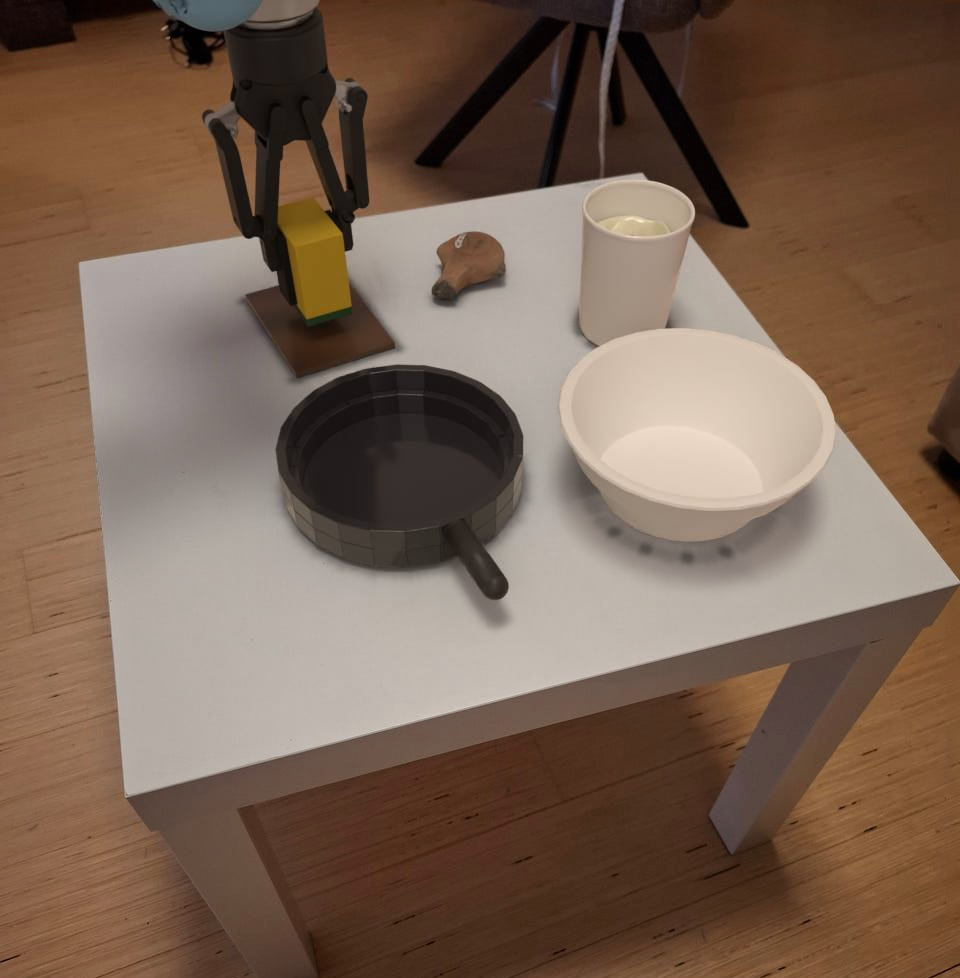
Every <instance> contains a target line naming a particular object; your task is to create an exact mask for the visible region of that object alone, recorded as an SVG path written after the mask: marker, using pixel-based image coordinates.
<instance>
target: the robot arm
mask: <svg viewBox="0 0 960 978" xmlns="http://www.w3.org/2000/svg"><path fill="white" fill-rule="evenodd" d="M152 1H153V3H154V4H155V5H156V7H158V8H160V9H161V10H162V11H163V12H164V14H166V15H167V16H169V17H171V18H173V19H175V20H178V21H181V22H182V23H184V24H186V25H188V26H190V27H192V28H194V29H197V30H201V31H206V32H223V36H224V41H225V46H226V51H227V52H226V53H227V57H228V63H229V66H230V72H231V77H232V86H231V90H230V94H229V96H230V97H229V102H228V103H226V104H224V105H223V106H222V107H220V108H219V109H217V110H216V111H214V110H213V109H209V108H208V109H205V110H204V111H203V112H202V113H201V120H202V122H203V124H204V126H205V127H206V129H207V130H208V132H209V134H210V135H211V137H212V138H213V141H214V143H215V147H216V152H217V156H218V160H219V164H220V165H219V166H220V169H221V173H222V178H223V182H224V186H225V191H226V195H227V199H228V203H229V208H230V211H231V216H232V220H233V223H234V224H235V226H236V227H237V229H238V231H239V232H240V234H241V235H242V236H243V237H244V239H247V240H251V239H253V238H258V240H259V241H258V242H259V246H260V250H261V255H262V260H263V262H264V264H265V265H266V267H268V269H269V270H270V272H271V273H276V277H277V282H278V285H279V288H280V292H281V293H282V295H283V296H284V298H285V299H286V301H287V302H288V303H289V305H290V306H293V305H296V304H297V298H296V292H295V286H294V281H293V275H292V269H291V264H290V258H289V252H288V246H287V241H286V238H285V236H284V235H283V234H282V232H281V231H280V229H279V228H278V227H277V224H278V206H279V203H280V202H279V200H280V178H281V161H283V160H284V159H283V158H284V146H288V145H289V144H291V143H292V142H295V141H299V142H300V141H301V142H305V144H306V146H307V149H308V151H309V154H310V157H311V159H312V163H313V165H314V167H315V170H316V173H317V175H318V179H319V181H320V184H321V186H322V189H323V192H324V194H325V197H326V199H327V202H328V205H329V207H330V209H326V210H324V211H325V212H326V214H327V215H328V216H329V217H330V219H331V220H332V221H333V222H334V224H335V225H336V226H337V227H338V229H339V230H340V231H341V232H342V234H343V240H344V248H345V253H346V252H350V251H352V250H353V247H354V235H353V230H352V229H353V228H352V224H353V223H354V222H355V220H356V214H354V213H355V212H356V211H357V210H358V209H362V210H364V209H366V208H367V207H368V206H369V205H370V191H369V190H370V189H369V179H368V177H369V176H368V168H367V167H368V165H367V155H366V144H365V132H364V129H365V128H364V116H365V113H366V112H365V111H366V109H367V108H366V107H367V104H368V97H369V95H368V93H367V91H366V90H365V89H364V88H363V87H362V86H361V85H360V84H359V83H358V81H356V80H355V79H354V78H352V77H347V78H346V79H345V80H339V79H335V77H334V76H333V74H332V73H331V71H330V68H329V65H328V64H329V61H328V50H327V44H326V43H327V42H326V33H325V24H324V17H323V13H322V11H321V10H320V9H319V8H318V7H317V6H319V3H320V0H152ZM333 99H334V104H335V106H336V108H338V123H339V130H340V141H341V152H342V160H343V173H344V180H345V189H344V187H343V183H342V180H341V178H340V175H339V173H338V169H337V165H336V164H335V161H334V158H333V155H332V153H331V152H332V151H331V150H330V147H329V146H330V143H329V140H328V137H327V135H326V131H325V128H324V126H323V122H324V120H325V117H326V115H327V114H328V111H329V109H330V106H331V104H332V102H333ZM240 118H241V119H242V120H243V121H244V122H246V124H247V125H248V126H250V127H251V129H252V130H253V131H254V144H255V145H254V146H255V149H256V151H255V182H254V183H255V184H254V185H255V186H254V187H255V188H254V215H253V210H252V205H251V201H250V196H249V191H248V187H247V182H246V178H245V172H244V168H243V164H242V158H241V154H240V151H239V148H238V145H237V144H236V141H235V140H236V139H237V138H238V137H239V128H238V122H239V120H240Z"/></svg>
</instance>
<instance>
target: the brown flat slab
mask: <svg viewBox="0 0 960 978" xmlns="http://www.w3.org/2000/svg"><path fill="white" fill-rule="evenodd" d="M349 289H350V297H351V305H352V306H351V307H352V314H350V315H347V316H343V317H340V318H336V319H333V320H330V321H326V322H323V323H320V324H316V325H313V326H310V327H308V326H307V325H306V323H305V322H304V320H303V319H302V317H301V316H300V314H299V313H298V311H297V310H296V309H295V307H294V306H290V305H289V303H288V302H287V301H286V299H285V298H284V296H283V295H282V293H281V292H280V288H279V284H278V285H274V286H271V287H267V288H263V289H260V290H255V291H252V292H249V293H246V294H245V300H246V302H247V303H248V304H249V306H250V307H251V309H252V311H253V312H254V314H255V315H256V317H257V319H258V320H259V322H260V323H261V325H262V326H263V328H264V330H265V331H266V333H267V334H268V336H269V338H270V339H271V340H272V342H273V344H274V345H275V347H276V349H278V351H279V353H280V354H281V356H282V358H283V359H284V360H285V362H286V364H287V365H288V367H289V369H290V370H291V372H292V373H293V375H294V377H295V378H296V379H299V378H302V377H305V376H308V375H313V374H315V373H318V372H321V371H324V370H328V369H331V368H334V367H337V366H341V365H344V364H347V363H350V362H354V361H357V360H361V359H363V358H366V357H370V356H374V355H376V354H379V353H383V352H387V351H390V350H392V349H395V348H396V342H395V341H394V340H393V338H392V337H391V336H390V334H389V333H388V331H387V330H386V329H385V328H384V326H383V325H382V324H381V322H380V321H379V320H378V318H377V317H376V316H375V315H374V313H373V312H372V310H371V309H370V308H369V306H367V304H366V303H365V302H364V300H363V299H362V297H361V296H360V295H359V294H358V292H357V291H356V290H355V288H354V286H352V284H351V283H350V282H349Z"/></svg>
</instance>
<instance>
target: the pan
mask: <svg viewBox="0 0 960 978" xmlns="http://www.w3.org/2000/svg"><path fill="white" fill-rule="evenodd" d="M275 457H276V465H277V471H278V476H279V481H280V485H281V489H282V494H283V497H284V501H285V506H286V509H287V511H288V512H289V514H290V516H291V518H292V520H293V521H294V523H295V526H296V527H297V528H298V529H299V530H300V531H301V532H302V533H304V535H306V537H308V538H309V539H310V540H311V541H312V542H314V544H315V545H316V546H318V547H320V548H322V549H324V550H326V551H328V552H330V553H332V554H334V555H336V556H338V557H340V558H341V559H344V560H347V561H350V562H351V561H352V562H355V563H360V564H362V565H363V564H364V565H368V566H372V567H386V568H387V567H388V568H413V567H420V566H425V565H432V564H437V563H438V564H439V563H443V562H446V561H448V560H451V559H453V558H457V557H458V556H457V555H456V553H455V552H454V550H453V549H452V547H451V546H450V544H449V543H448V541H447V540H446V538H445V536H444V532H445V529H446V528H447V526H448V525H449V524H451V523H452V522H454V521H456V520H464V521H466V522H467V523H468V525H469V526H470V528H471V529H472V530H473V532H474V533H475V535H476V536H477V537H478V539H479V540H480V542H481V543H482V544H483V543H485V542H486V541H488V540H489V539H491V538H492V537H494V536H495V535H496V534H497V533H498V532H499V531H500V530H501V528H503V526H504V524H505V523H506V522H507V521H508V520H509V519H510V517H512V515H513V513H514V512H515V509H516V506H517V504H518V501H519V499H520V496H521V495H522V485H523V484H522V483H523V465H524V433H523V430H522V427H521V425H520V422H519V419H518V416H517V415H516V413H515V411H514V410H513V409H512V407H510V405H509V404H508V403H507V401H505V399H504V398H503V397H502V396H501V395H500V394H499V393H497V392H496V391H494V390H493V389H491V388H490V387H489V386H487V385H486V384H484V383H483V382H481V381H479V380H477V379H475V378H472V377H470V376H467V375H464V374H462V373H460V372H457V371H456V370H455V371H454V370H451V369H446V368H441V367H436V366H430V365H426V364H397V363H396V364H390V365H381V366H374V367H368V368H367V367H366V368H363V369H360V370H356V371H353V372H349V373H347V374H344V375H341V376H338V377H335V378H334V379H332V380H330V381H328V382H327V383H325V384H323V385H321V386H319V387H316V388H315V389H313V390H312V391H311V392H310V393H309V394H307V396H305V397H304V398H303V399H302V400H301V401H299V402H298V403H297V404H296V405H295V406H294V407H293V408H292V409H291V411H290V413H289V414H288V415H287V417H286V419H285V420H284V422H283V423H282V425H281V426H280V429H279V433H278V437H277V441H276V445H275Z"/></svg>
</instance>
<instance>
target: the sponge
mask: <svg viewBox="0 0 960 978" xmlns="http://www.w3.org/2000/svg"><path fill="white" fill-rule="evenodd" d="M325 211H326V210H324V208H323V207H322V206H321V205H320V203H319V202H318V201H317V200H316V199H315V197H308V198H304V199H300V200H297V201H293V202H289V203H285V204H282V205H278V224H277V227H278V228H279V229H280V231H281V232H282V234H283V235H284V236H285V238H286V241H287V246H288V252H289V258H290V264H291V269H292V275H293V281H294V286H295V292H296V298H297V304H296V305H293V306H294V307H295V309H296V310H297V311H298V313H299V314H300V316H301V317H302V319H303V320H304V322H305V323H306V325H307V326H308V327H310V326H313V325H316V324H320V323H323V322H326V321H330V320H333V319H336V318H340V317H343V316H347V315H350V314H352V307H351V306H352V305H351V297H350V289H349V283H350V281H349V274H348V266H347V258H346V257H347V256H346V252H345V248H344V240H343V234H342V232H341V231H340V230H339V229H338V227H337V226H336V225H335V224H334V222H333V221H332V220H331V219H330V217H329V216H328V215H327V214H326V212H325Z"/></svg>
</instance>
